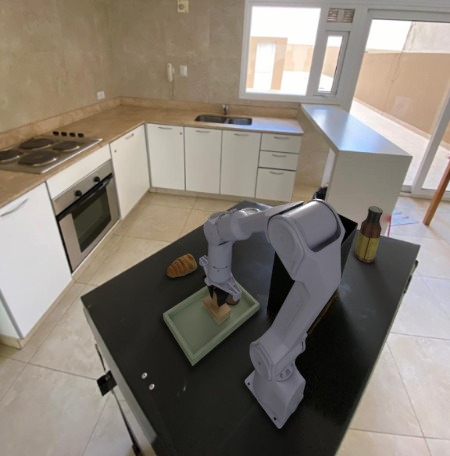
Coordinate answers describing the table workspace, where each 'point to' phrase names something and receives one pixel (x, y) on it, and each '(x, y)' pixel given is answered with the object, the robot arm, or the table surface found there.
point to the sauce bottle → (369, 235)
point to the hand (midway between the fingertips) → (218, 300)
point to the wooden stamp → (216, 309)
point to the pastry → (182, 266)
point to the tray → (205, 323)
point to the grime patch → (231, 300)
